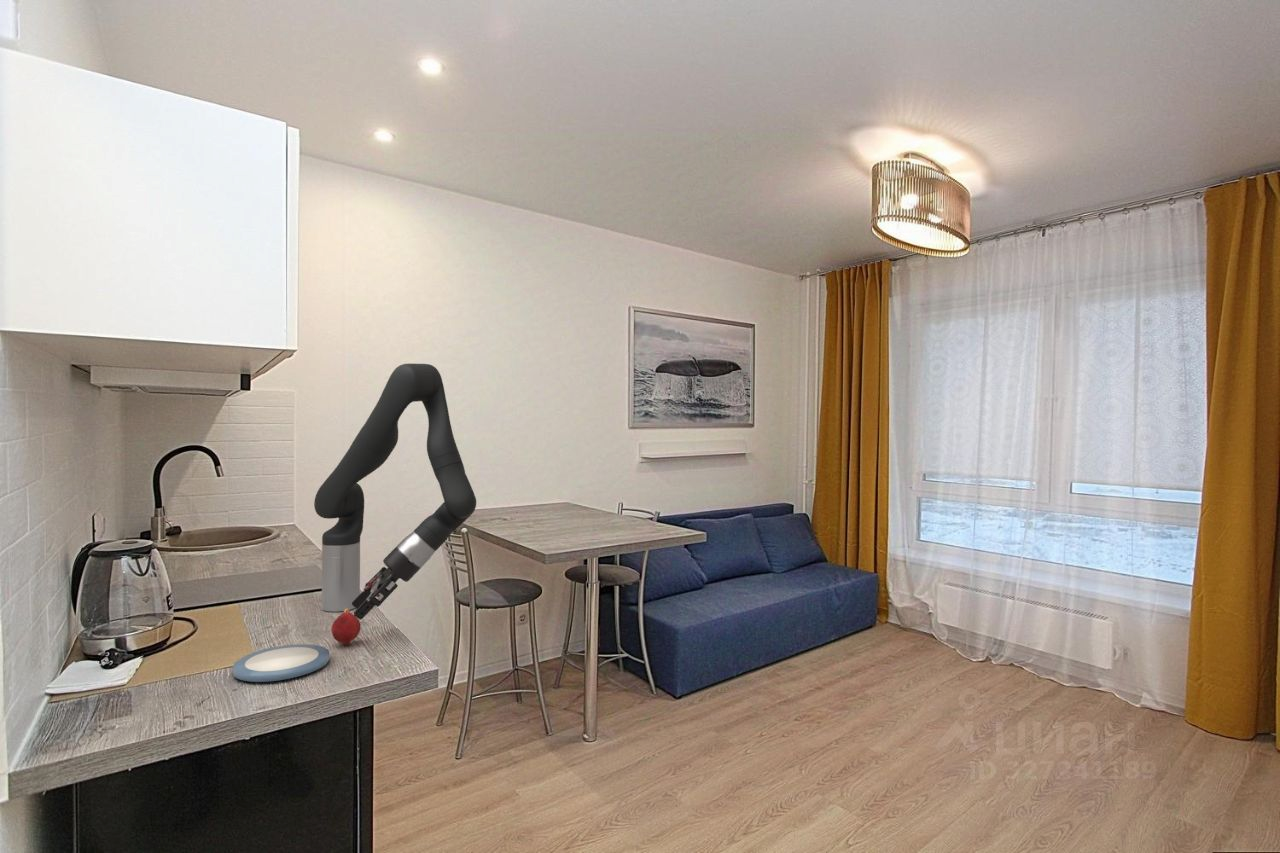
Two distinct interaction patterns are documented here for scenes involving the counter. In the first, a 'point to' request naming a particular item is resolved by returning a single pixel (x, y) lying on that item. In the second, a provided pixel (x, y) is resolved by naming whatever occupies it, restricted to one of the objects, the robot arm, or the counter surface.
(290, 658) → the dish
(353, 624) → the onion
